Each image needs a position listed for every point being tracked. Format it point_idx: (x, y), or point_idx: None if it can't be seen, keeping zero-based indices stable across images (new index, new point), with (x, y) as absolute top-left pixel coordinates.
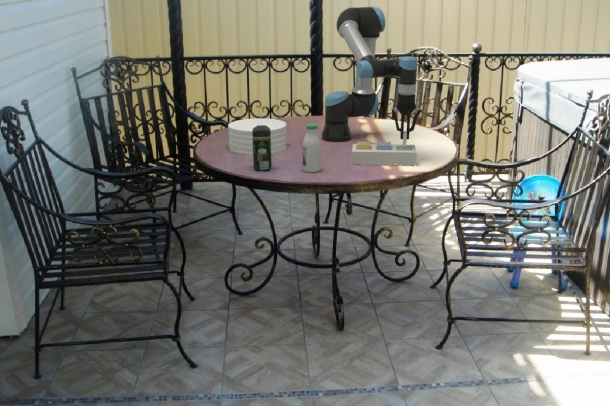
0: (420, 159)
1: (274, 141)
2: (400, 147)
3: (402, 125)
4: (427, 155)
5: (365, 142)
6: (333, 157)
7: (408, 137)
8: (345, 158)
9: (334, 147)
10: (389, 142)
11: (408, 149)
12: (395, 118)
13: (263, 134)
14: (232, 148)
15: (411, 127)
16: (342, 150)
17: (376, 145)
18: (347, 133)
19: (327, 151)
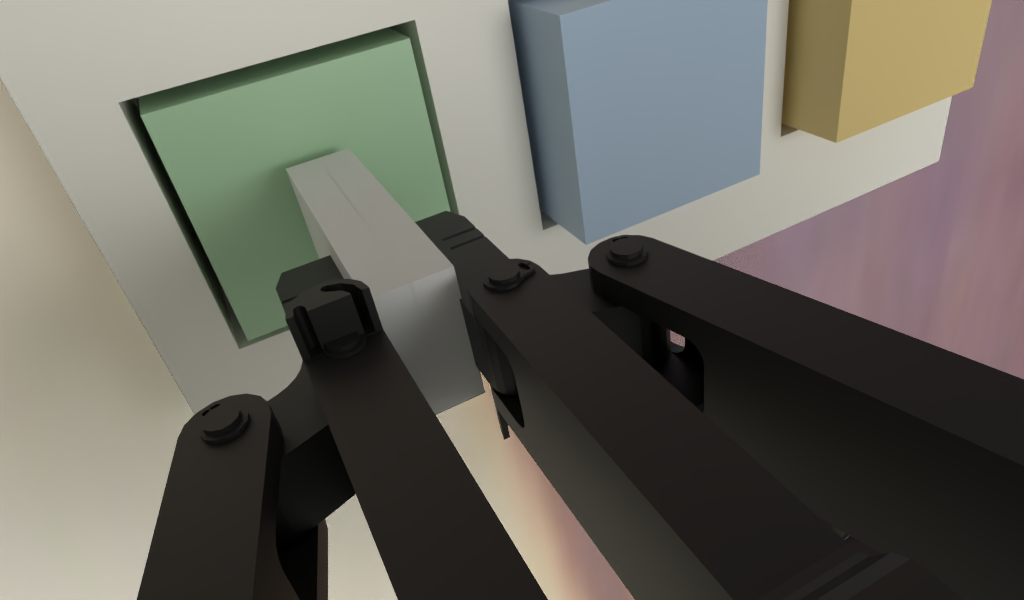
0: (81, 321)
1: None
2: (395, 193)
3: (591, 367)
4: (72, 521)
5: (897, 77)
6: None
7: (295, 292)
8: None
9: (907, 320)
10: (601, 218)
11: (210, 106)
12: (1005, 404)
13: None
14: None
15: (304, 542)
16: (871, 271)
17: (721, 192)
18: (858, 546)
19: (966, 193)
